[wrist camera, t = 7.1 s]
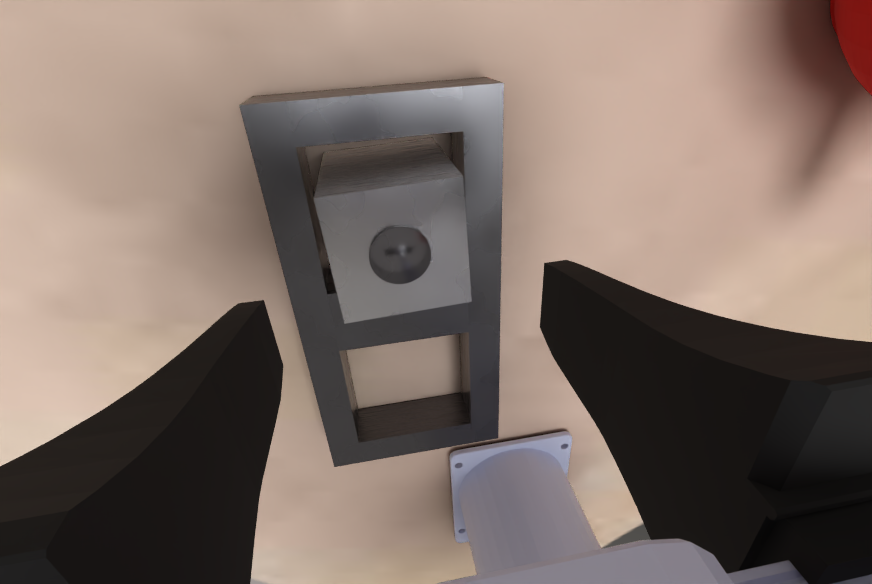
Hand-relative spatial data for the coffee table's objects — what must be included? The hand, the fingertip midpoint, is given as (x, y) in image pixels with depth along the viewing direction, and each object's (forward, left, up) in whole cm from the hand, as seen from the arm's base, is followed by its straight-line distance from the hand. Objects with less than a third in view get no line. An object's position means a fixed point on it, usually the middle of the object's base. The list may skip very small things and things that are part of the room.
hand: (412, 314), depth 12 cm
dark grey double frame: (-4, 0, -9) cm, 10 cm away
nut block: (0, 0, -10) cm, 10 cm away
